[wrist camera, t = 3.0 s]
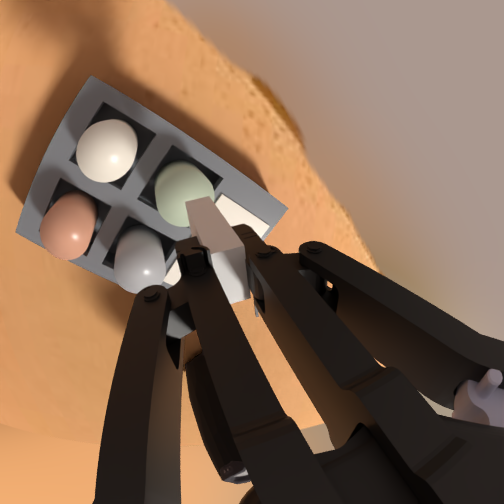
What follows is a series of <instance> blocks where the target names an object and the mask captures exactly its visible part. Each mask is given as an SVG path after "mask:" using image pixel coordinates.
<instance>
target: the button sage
mask: <svg viewBox="0 0 504 504" xmlns="http://www.w3.org/2000/svg"><path fill="white" fill-rule="evenodd" d="M154 189H155V197H156V204H157V208H158V211H159V213H160V215H161V216H162V217H163V219H164V220H166V221H167V222H168V223H170V224H172V225H175V226H179V227H188V226H190V225H189V220H188V215H187V210H186V205H185V202H186V201H190V200H194V199H199V198H203V197H207V196H210V198H211V199H212V201H213V202H214V198H215V195H214V189H213V186H212V184H211V183H210V181H209V180H208V179H207V178H206V177H205V175H204V174H203V173H202V172H201V171H200V170H199V169H198V168H197V167H196V166H195V165H194V164H192V163H191V162H188V161H185V160H175V161H171V162H169V163H167V164H165V165H164V166H163V167H162V168H161V169H160V170H159V171H158V173H157V175H156V177H155V181H154Z"/></svg>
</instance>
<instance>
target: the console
mask: <svg viewBox="0 0 504 504" xmlns="http://www.w3.org/2000/svg"><path fill="white" fill-rule="evenodd" d="M110 119H120V120H124V121H126V122H128V123H129V124H130V125H131V126H132V127H133V128H134V130H135V131H136V134H137V137H138V147H137V151H136V155H135V159H134V162H133V164H132V166H131V167H130V169H129V170H128V171H127V172H126V174H124V175H123V176H122V177H120V178H119V179H117V180H114V181H111V182H105V183H104V182H96V181H93V180H91V179H89V178H88V177H87V176H86V175H84V173H83V172H82V171H81V169H80V168H79V166H78V163H77V158H76V150H77V145H78V142H79V140H80V138H81V136H82V134H83V133H84V132H85V131H86V130H87V129H88V128H89V127H90V126H92V125H93V124H95V123H98V122H100V121H105V120H110ZM175 160H185V161H188V162H191V163H192V164H194V165H195V166H196V167H197V168H198V169H199V170H200V171H201V172H202V173H203V174H204V175H205V177H206V178H207V179H208V180H209V181H210V183H211V184H212V186H213V189H214V195H215V198H214V203H215V205H216V206H217V208H218V209H219V210H220V212H221V213H222V215H223V216H224V218H225V219H226V220H227V222H228V223H229V225H230V226H236V225H240V224H246V225H248V226H251V227H252V228H253V230H254V231H255V232H256V233H257V234H258V235H259V237H260V238H261V239H262V240H263V241H264V240H265V238H266V237H267V236H268V234H269V233H270V232H271V230H272V229H273V228H274V227H275V225H276V224H277V223H278V221H279V220H280V219H281V217H282V216H283V215H284V213H285V212H286V211H287V210H288V208H287V207H286V206H285V205H284V204H282V203H281V202H280V201H278V200H277V199H276V198H275V197H273V196H272V195H271V194H269V193H268V192H267V191H265V190H264V189H263V188H261V187H260V186H259V185H257V184H256V183H255V182H253V181H252V180H251V179H249V178H248V177H247V176H245V175H244V174H242V173H241V172H240V171H238V170H237V169H236V168H234V167H233V166H231V165H230V164H229V163H227V162H226V161H224V160H223V159H222V158H220V157H219V156H217V155H216V154H215V153H213V152H212V151H210V150H209V149H207V148H206V147H205V146H203V145H202V144H200V143H199V142H197V141H196V140H194V139H193V138H191V137H190V136H188V135H187V134H185V133H184V132H182V131H181V130H179V129H178V128H176V127H175V126H173V125H172V124H170V123H169V122H167V121H166V120H164V119H163V118H161V117H160V116H158V115H157V114H155V113H153V112H152V111H150V110H149V109H147V108H145V107H144V106H142V105H141V104H139V103H137V102H136V101H134V100H133V99H131V98H129V97H128V96H126V95H124V94H123V93H121V92H119V91H118V90H116V89H114V88H113V87H111V86H109V85H108V84H106V83H104V82H102V81H101V80H99V79H97V78H96V77H94V76H92V75H91V76H90V77H89V78H88V80H87V81H86V83H85V84H84V86H83V87H82V89H81V90H80V92H79V93H78V95H77V96H76V98H75V100H74V101H73V103H72V104H71V106H70V108H69V109H68V111H67V113H66V115H65V116H64V118H63V120H62V122H61V123H60V125H59V127H58V129H57V131H56V133H55V135H54V136H53V138H52V140H51V142H50V144H49V146H48V148H47V151H46V153H45V155H44V157H43V159H42V161H41V163H40V166H39V168H38V170H37V173H36V175H35V177H34V180H33V182H32V185H31V187H30V190H29V193H28V195H27V198H26V201H25V204H24V207H23V210H22V213H21V216H20V219H19V222H18V225H17V229H16V233H18V234H19V235H21V236H23V237H25V238H26V239H28V240H30V241H32V242H34V243H35V244H37V245H39V246H41V247H43V248H45V247H44V245H43V243H42V241H41V237H40V225H41V222H42V219H43V218H44V216H45V215H46V214H47V212H48V211H49V210H50V209H51V207H52V206H53V205H54V204H55V203H56V201H57V200H58V199H59V198H60V197H61V196H62V195H63V194H64V193H66V192H68V191H71V190H80V191H84V192H86V193H87V194H89V195H90V196H91V197H92V198H93V200H94V201H95V203H96V205H97V209H98V219H97V222H96V225H95V228H94V231H93V234H92V237H91V239H90V242H89V245H88V248H87V249H86V251H85V252H84V253H83V254H82V255H81V256H79V257H78V258H75V259H72V260H68V261H70V262H72V263H74V264H76V265H78V266H80V267H82V268H84V269H86V270H88V271H90V272H92V273H94V274H97V275H99V276H101V277H103V278H105V279H107V280H110V281H112V282H114V283H116V284H118V283H117V281H116V279H115V276H114V263H115V255H116V248H117V241H118V238H119V236H120V235H121V233H122V232H123V231H124V230H126V229H127V228H129V227H131V226H135V225H143V226H147V227H150V228H152V229H153V230H154V231H155V232H156V233H157V234H158V235H159V237H160V239H161V243H162V249H163V255H164V260H165V266H166V275H165V279H164V281H163V282H162V284H161V285H162V286H164V287H165V288H166V289H168V288H170V287H172V286H173V285H175V284H176V283H177V282H178V281H179V280H180V277H181V273H180V269H179V265H178V262H177V254H176V250H175V245H176V243H177V241H179V240H183V239H187V238H190V237H192V234H191V229H190V226H188V227H179V226H175V225H172V224H170V223H168V222H167V221H166V220H164V219H163V217H162V216H161V215H160V213H159V211H158V208H157V204H156V197H155V189H154V181H155V177H156V175H157V173H158V171H159V170H160V169H161V168H162V167H163V166H164V165H165V164H167V163H169V162H171V161H175ZM45 249H46V248H45ZM118 285H119V284H118Z"/></svg>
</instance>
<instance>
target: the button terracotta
mask: <svg viewBox="0 0 504 504" xmlns="http://www.w3.org/2000/svg"><path fill="white" fill-rule="evenodd" d="M97 219H98V209H97V205H96V203H95V201H94V200H93V198H92V197H91V196H90V195H89V194H87V193H86V192H84V191H80V190H71V191H68V192H66V193H64V194H63V195H62V196H61V197H60V198H59V199H58V200H57V201H56V203H55V204H54V205H53V206H52V207H51V209H50V210H49V211H48V212H47V214H46V215H45V216H44V218H43V219H42V222H41V225H40V237H41V241H42V243H43V245H44V247H45V248H46V250H47V251H48V252H49V253H50V254H51V255H53V256H54V257H56V258H59V259H62V260H72V259H75V258H78V257H79V256H81V255H82V254H83V253H84V252H85V251H86V249H87V248H88V245H89V242H90V239H91V237H92V234H93V231H94V228H95V225H96V222H97Z"/></svg>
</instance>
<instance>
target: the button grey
mask: <svg viewBox="0 0 504 504" xmlns="http://www.w3.org/2000/svg"><path fill="white" fill-rule="evenodd" d="M165 275H166V266H165V260H164V255H163V249H162V243H161V239H160V237H159V235H158V234H157V233H156V232H155V231H154V230H153V229H152V228H150V227H147V226H143V225H135V226H131V227H129V228H127V229H126V230H124V231H123V232H122V233H121V235H120V236H119V238H118V241H117V248H116V255H115V263H114V276H115V279H116V281H117V283H118V284H119V285H120V286H121V287H122V288H123V289H125V290H126V291H128V292H131V293H135V294H138V292H139V291H141V290H142V289H143V288H145V287H147V286H151V285H161V284H162V282H163V281H164V279H165Z"/></svg>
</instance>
